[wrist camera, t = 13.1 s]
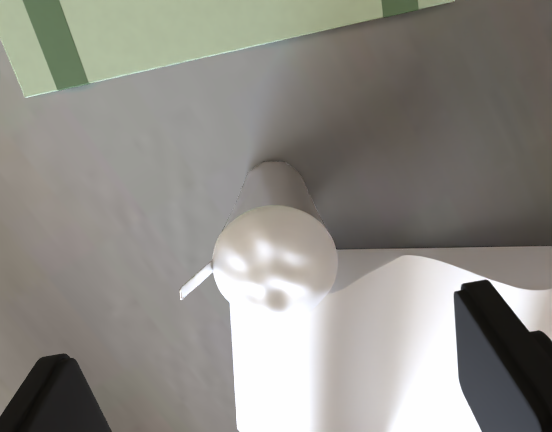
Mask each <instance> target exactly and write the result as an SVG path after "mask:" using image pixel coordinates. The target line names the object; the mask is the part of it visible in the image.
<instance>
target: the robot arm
mask: <svg viewBox="0 0 552 432" xmlns="http://www.w3.org/2000/svg"><path fill="white" fill-rule="evenodd" d="M454 312H455V329H456V346H457V363H458V378H459V383H460V387H461V390H462V392H463V395H464V397H465V399H466V401H467V403H468V405H469V407H470V409H471V411H472V413H473V415H474V417H475V419H476V421H477V423H478V425H479V427H480V429H481V431H482V432H552V341H551V339H550V338H549V337H548V336H547V335H546V334H545V333H544V332H542V331H540V330H537V331H531V332H529V330H528V329H527V328H526V327H525V325H524V324H523V323H522V322H521V320H520V319H519V318H518V317H517V315H516V314H515V313H514V311H513V310H512V309H511V308H510V306H509V305H508V304H507V303H506V301H505V300H504V299H503V298H502V296H501V295H500V294H499V293H498V291H497V290H496V289H495V287H494V286H493V285H492V284H491V282H490V281H489V280H486V279H485V280H480V281H474V282H468V283H463V284H461V290H459V291H455V292H454ZM0 432H112V431H111V429H110V427H109V425H108V423H107V421H106V419H105V417H104V415H103V413H102V411H101V409H100V407H99V405H98V403H97V401H96V399H95V397H94V395H93V393H92V391H91V389H90V387H89V385H88V383H87V381H86V379H85V377H84V375H83V373H82V371H81V369H80V367H79V365H78V363H77V361H76V360H75V359H74V358H70V357H69V356H68V355H67V354H57V355H52V356H46V357H42V358H40V359H39V360H38V361H37V362H36V364H35V365H34V367H33V368H32V370H31V371H30V373H29V374H28V376H27V377H26V379H25V380H24V382H23V383H22V385H21V386H20V388H19V389H18V391H17V392H16V394H15V395H14V397H13V398H12V400H11V401H10V403H9V404H8V406H7V407H6V409H5V410H4V412H3V413H2V415H1V416H0Z"/></svg>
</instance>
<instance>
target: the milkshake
mask: <svg viewBox="0 0 552 432" xmlns="http://www.w3.org/2000/svg"><path fill="white" fill-rule="evenodd" d="M337 268H338V257H337V251H336V247H335V244H334V241H333V239H332V237H331V235H330V233H329V231H328V230H327V228H326V226H325V224H324V222H323V220H322V218H321V217H320V215H319V213H318V211H317V209H316V207H315V205H314V203H313V201H312V198H311V196H310V194H309V192H308V189H307V187H306V185H305V183H304V180H303V178H302V176H301V174H300V173H299V172H298V171H297V170H295V169H294V168H293V167H291V166H290V165H288V164H287V163H286V162H284V161H263V162H262V163H261V164H259V165H258V166H256V167H255V168H253V169H252V170H250V171H249V172H248V173H247V175H246V178H245V181H244V183H243V186H242V188H241V191H240V194H239V196H238V199H237V201H236V203H235V206H234V208H233V210H232V212H231V213H230V215H229V217H228V219H227V222H226V224H225V226H224V228H223V230H222V232H221V234H220V236H219V237H218V239H217V241H216V244H215V247H214V251H213V259H212V261H210V262H209V263H208V264H207V265H206V266H205V267H204V268H202V269H201V270H200V271H199V272H198V273H197V274H196V275H194V276H193V277H192V278H191V279H190V280H189V281H188V282H186V283H185V284H184V285H183V286H182V287H181V288H180V299H181V300H182V299H184V298H185V297H186V296H187V295H188V294H189V293H190V292H191V291H192V290H193V289H195V288H196V287H197V286H198V285H199V284H200V283H201V282H202V281H203V280H204V279H205V278H207V277H208V276H209V275H210V274H211V273H212V272H213V274H214V278H215V281H216V284H217V286H218V288H219V290H220V292H221V293H222V294H223V296H224V297H225V298H226V299H227V300H228V301H229V302H230V303H231V304H233V305H234V306H235V307H237V308H238V309H240V310H242V311H243V312H245V313H247V314H250V315H252V316H256V317H261V318H271V319H290V318H295V317H299V316H302V315H304V314H306V313H308V312H310V311H311V310H312V309H313V308H315V307H316V306H317V305H318V304H319V302H320V301H321V300H322V299H323V298H324V297H325V296H326V295H327V293H328V292H329V291H330V290H331V288H332V286H333V284H334V282H335V278H336V274H337Z"/></svg>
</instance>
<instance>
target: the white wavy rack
mask: <svg viewBox="0 0 552 432" xmlns="http://www.w3.org/2000/svg"><path fill="white" fill-rule="evenodd" d="M336 251H337V257H338V268H337V274H336V278H335V282H334V284H333V286H332V288H331V290H330V291H329V292H328V293H327V295H326V296H325V297H324V298H323V299H322V300H321V301H320V302H319V304H318V305H317V306H316V307H315V308H313V309H312V310H311V311H310V312H308V313H306V314H304V315H302V316H299V317H295V318H290V319H271V318H261V317H256V316H252V315H250V314H247V313H245V312H243V311H242V310H240V309H238V308H237V307H235V306H234V305H233V304H231V303H230V315H231V332H232V349H233V365H234V382H235V399H236V415H237V429H238V430H239V431H240V432H482V431H481V429H480V427H479V425H478V423H477V421H476V419H475V417H474V415H473V413H472V411H471V409H470V407H469V405H468V403H467V401H466V399H465V397H464V395H463V392H462V390H461V387H460V383H459V378H458V363H457V346H456V329H455V312H454V292H455V291H459V290H461V284H463V283H468V282H474V281H480V280H485V279H486V280H489V281H490V282H491V284H492V285H493V286H494V287H495V289H496V290H497V291H498V293H499V294H500V295H501V296H502V298H503V299H504V300H505V301H506V303H507V304H508V305H509V306H510V308H511V309H512V310H513V311H514V313H515V314H516V315H517V317H518V318H519V319H520V320H521V322H522V323H523V324H524V325H525V327H526V328H527V329H528V330H529V332H531V331H537V330H540V331H542V332H544V333H545V334H546V335H547V336H548V337H549V338H550V339H551V341H552V246H524V247H465V248H405V249H346V250H336Z"/></svg>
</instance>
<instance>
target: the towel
mask: <svg viewBox="0 0 552 432" xmlns="http://www.w3.org/2000/svg"><path fill="white" fill-rule="evenodd" d="M454 1H455V0H0V39H1V41H2V44H3V46H4V49H5V51H6V53H7V56H8V58H9V61H10V63H11V65H12V68H13V70H14V73H15V75H16V77H17V80H18V82H19V85H20V87H21V89H22V92H23V94H24V96H25V97H26V98H27V97H31V96H36V95H40V94H44V93H49V92H53V91H60V90H64V89H69V88H73V87H78V86H82V85H87V84H90V83H93V82H98V81H102V80H107V79H111V78H116V77H120V76H124V75H129V74H133V73H138V72H142V71H147V70H151V69H156V68H160V67H165V66H169V65H173V64H178V63H182V62H187V61H191V60H196V59H200V58H205V57H209V56H213V55H218V54H222V53H227V52H231V51H236V50H240V49H245V48H249V47H254V46H258V45H262V44H267V43H271V42H276V41H280V40H285V39H289V38H294V37H298V36H302V35H307V34H311V33H316V32H320V31H325V30H329V29H334V28H338V27H342V26H347V25H351V24H356V23H360V22H365V21H369V20H374V19H378V18H385V17H389V16H394V15H398V14H403V13H407V12H412V11H416V10H418V9H423V8H427V7H431V6H436V5H440V4H445V3H449V2H454Z"/></svg>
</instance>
